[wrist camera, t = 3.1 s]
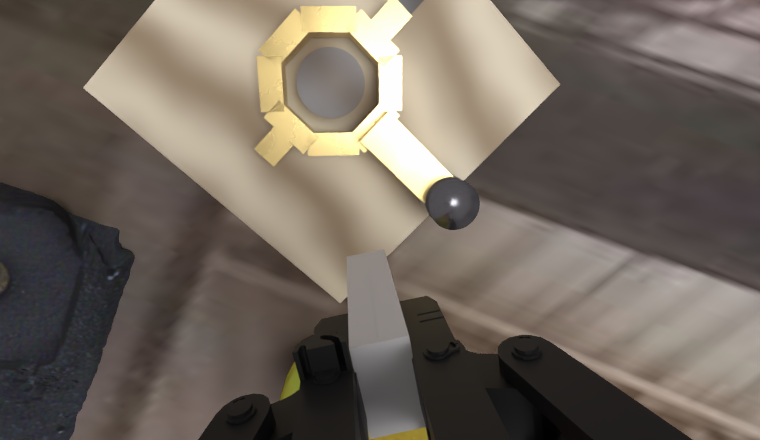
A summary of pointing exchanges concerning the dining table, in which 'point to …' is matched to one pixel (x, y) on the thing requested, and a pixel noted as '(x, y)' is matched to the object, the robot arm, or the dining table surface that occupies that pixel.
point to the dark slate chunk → (52, 312)
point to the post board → (317, 192)
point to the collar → (379, 127)
